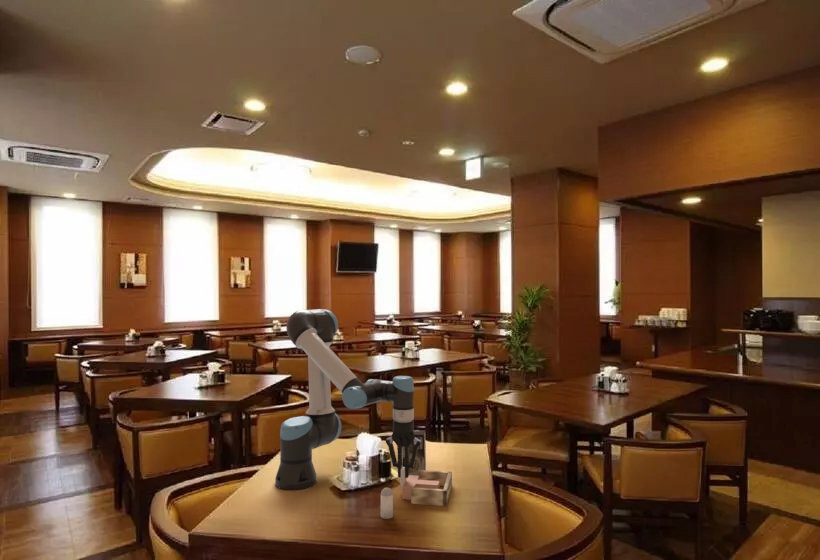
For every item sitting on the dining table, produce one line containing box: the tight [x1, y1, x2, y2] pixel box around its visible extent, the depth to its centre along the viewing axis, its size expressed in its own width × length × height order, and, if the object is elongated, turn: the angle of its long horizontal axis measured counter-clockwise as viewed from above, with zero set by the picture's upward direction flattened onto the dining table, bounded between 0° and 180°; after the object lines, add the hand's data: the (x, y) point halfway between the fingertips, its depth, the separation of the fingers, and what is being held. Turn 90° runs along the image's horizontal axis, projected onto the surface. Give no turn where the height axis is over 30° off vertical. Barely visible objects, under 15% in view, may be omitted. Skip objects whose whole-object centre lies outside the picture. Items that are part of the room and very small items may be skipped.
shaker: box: [380, 487, 394, 520], centre depth 160 cm, size 4×4×9 cm
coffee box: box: [402, 429, 427, 476], centre depth 199 cm, size 9×6×16 cm
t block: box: [401, 475, 441, 501], centre depth 178 cm, size 12×12×4 cm
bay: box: [410, 469, 453, 507], centre depth 178 cm, size 12×18×5 cm, turn 170°
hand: (403, 486), depth 180 cm, fingers closed
